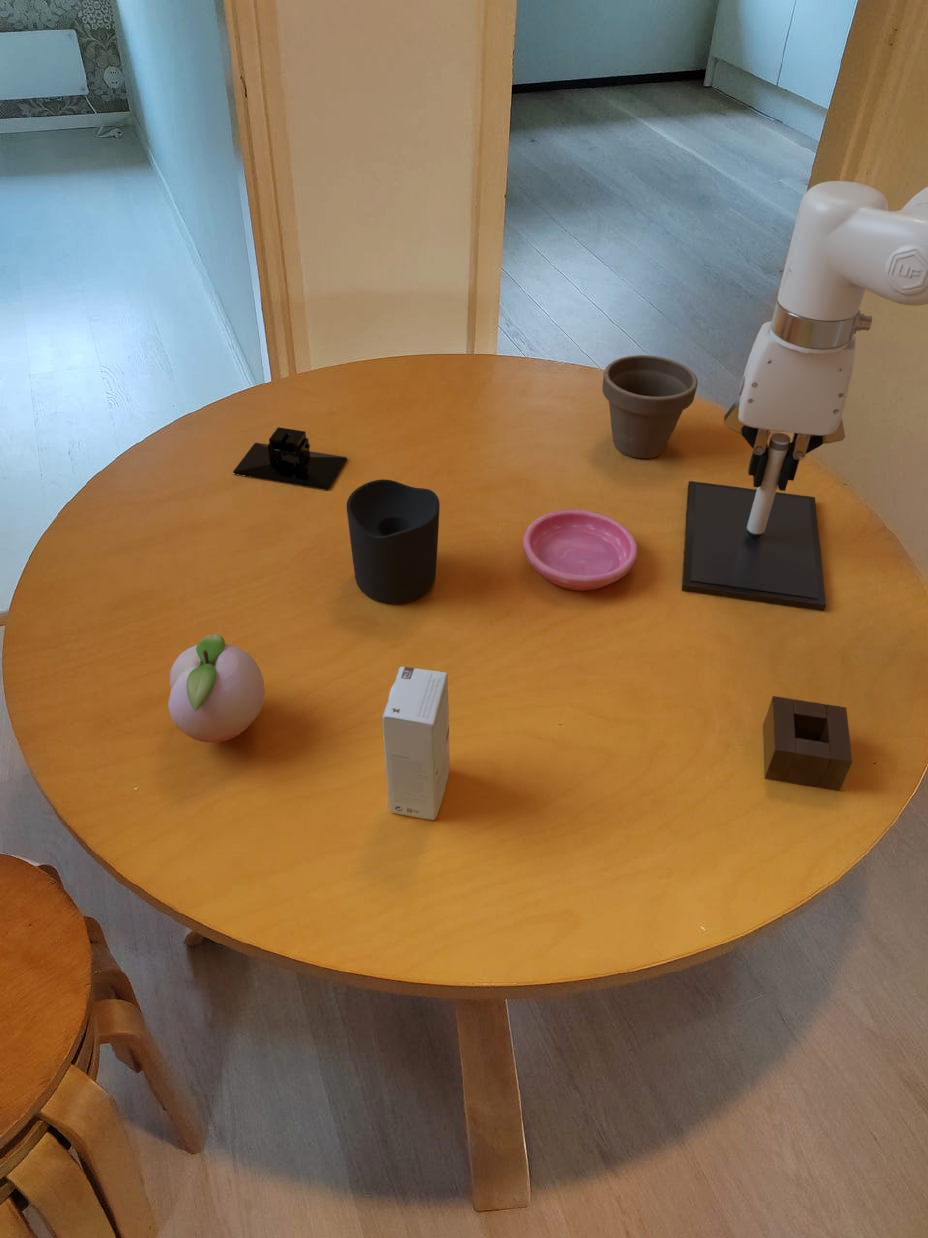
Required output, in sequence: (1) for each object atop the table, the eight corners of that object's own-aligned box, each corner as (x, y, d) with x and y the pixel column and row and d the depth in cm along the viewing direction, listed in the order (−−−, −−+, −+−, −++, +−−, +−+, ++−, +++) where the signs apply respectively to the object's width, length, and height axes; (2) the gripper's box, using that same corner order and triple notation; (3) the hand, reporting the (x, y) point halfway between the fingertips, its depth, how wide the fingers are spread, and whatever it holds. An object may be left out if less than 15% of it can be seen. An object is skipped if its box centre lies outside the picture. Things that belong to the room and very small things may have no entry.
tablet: (813, 502, 119) (815, 496, 118) (824, 611, 104) (827, 604, 104) (687, 486, 121) (689, 479, 120) (681, 590, 106) (683, 583, 106)
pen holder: (416, 543, 111) (414, 469, 105) (454, 592, 105) (455, 516, 99) (338, 566, 108) (332, 491, 101) (373, 618, 102) (369, 542, 95)
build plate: (232, 475, 121) (227, 442, 118) (256, 444, 126) (251, 412, 123) (328, 490, 119) (325, 457, 115) (348, 458, 124) (346, 426, 121)
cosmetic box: (436, 822, 83) (437, 727, 75) (385, 813, 84) (380, 718, 76) (451, 766, 88) (453, 671, 80) (402, 758, 88) (398, 663, 80)
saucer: (587, 517, 116) (590, 495, 113) (657, 576, 108) (661, 553, 106) (499, 552, 111) (501, 529, 108) (566, 616, 103) (569, 593, 101)
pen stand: (834, 736, 92) (846, 707, 89) (839, 791, 87) (852, 762, 84) (762, 724, 92) (772, 695, 90) (764, 778, 88) (774, 749, 85)
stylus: (762, 532, 112) (790, 433, 104) (763, 542, 111) (791, 444, 102) (744, 529, 113) (770, 431, 104) (744, 540, 111) (771, 441, 102)
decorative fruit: (272, 762, 88) (258, 684, 81) (178, 773, 87) (156, 696, 80) (268, 686, 95) (256, 609, 88) (181, 696, 93) (161, 618, 87)
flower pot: (643, 413, 133) (655, 344, 127) (702, 452, 126) (717, 382, 120) (576, 437, 129) (584, 367, 122) (634, 479, 122) (645, 408, 115)
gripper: (894, 314, 96) (841, 472, 108) (728, 296, 98) (695, 453, 111) (903, 349, 91) (847, 512, 103) (728, 330, 93) (693, 491, 105)
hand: (768, 480), depth 107 cm, fingers closed on stylus, 2 cm apart
